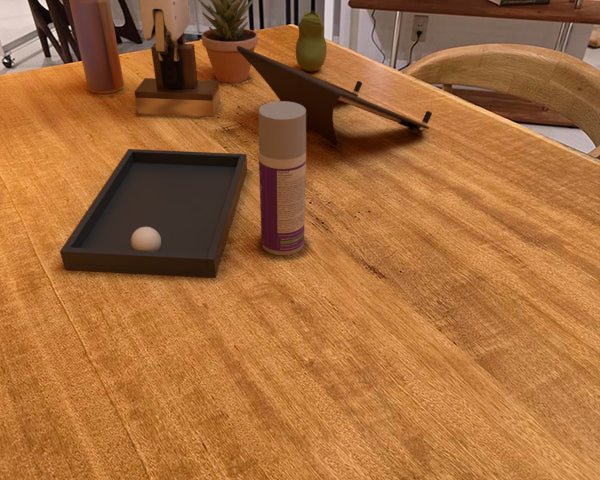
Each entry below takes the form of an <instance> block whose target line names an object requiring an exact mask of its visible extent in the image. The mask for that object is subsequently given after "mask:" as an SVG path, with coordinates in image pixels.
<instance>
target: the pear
mask: <svg viewBox="0 0 600 480" xmlns="http://www.w3.org/2000/svg"><path fill="white" fill-rule="evenodd" d="M297 26H298V27H297V29H298V37H297V40H296V43H295V44H296V45H295V59H296V63H297V65H298V66H299V68H300V69H301V70H302V71H304V72H308V73H309V72H310V73H311V72H316V71H318V70H320V69H321V68H322V67H323V66H324V65H325V62H326V58H327V49H328V47H327V41H326V38H325V24H324V22H323V20H322V19H321V13H320V12H318V11H314V10H311V11H310V12H305V11H304V14H303V16H302V18H301V19H300V21H299V22H298V24H297Z"/></svg>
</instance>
